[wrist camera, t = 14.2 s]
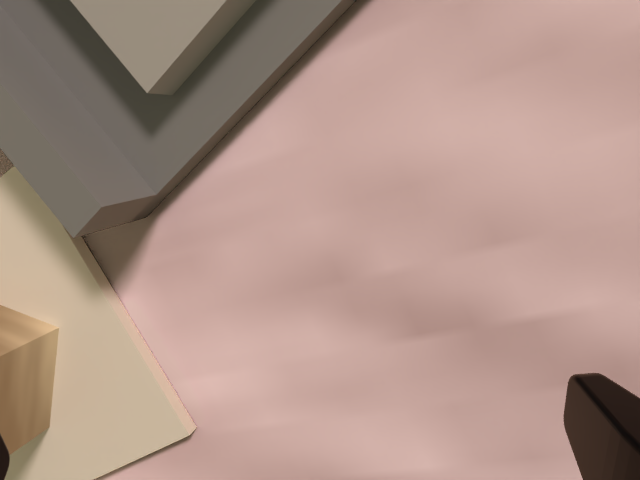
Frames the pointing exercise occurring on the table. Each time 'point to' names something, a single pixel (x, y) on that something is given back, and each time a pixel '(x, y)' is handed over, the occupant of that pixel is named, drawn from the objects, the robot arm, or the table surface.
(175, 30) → the grey walled tray
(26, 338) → the block
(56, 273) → the tile
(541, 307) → the table surface
